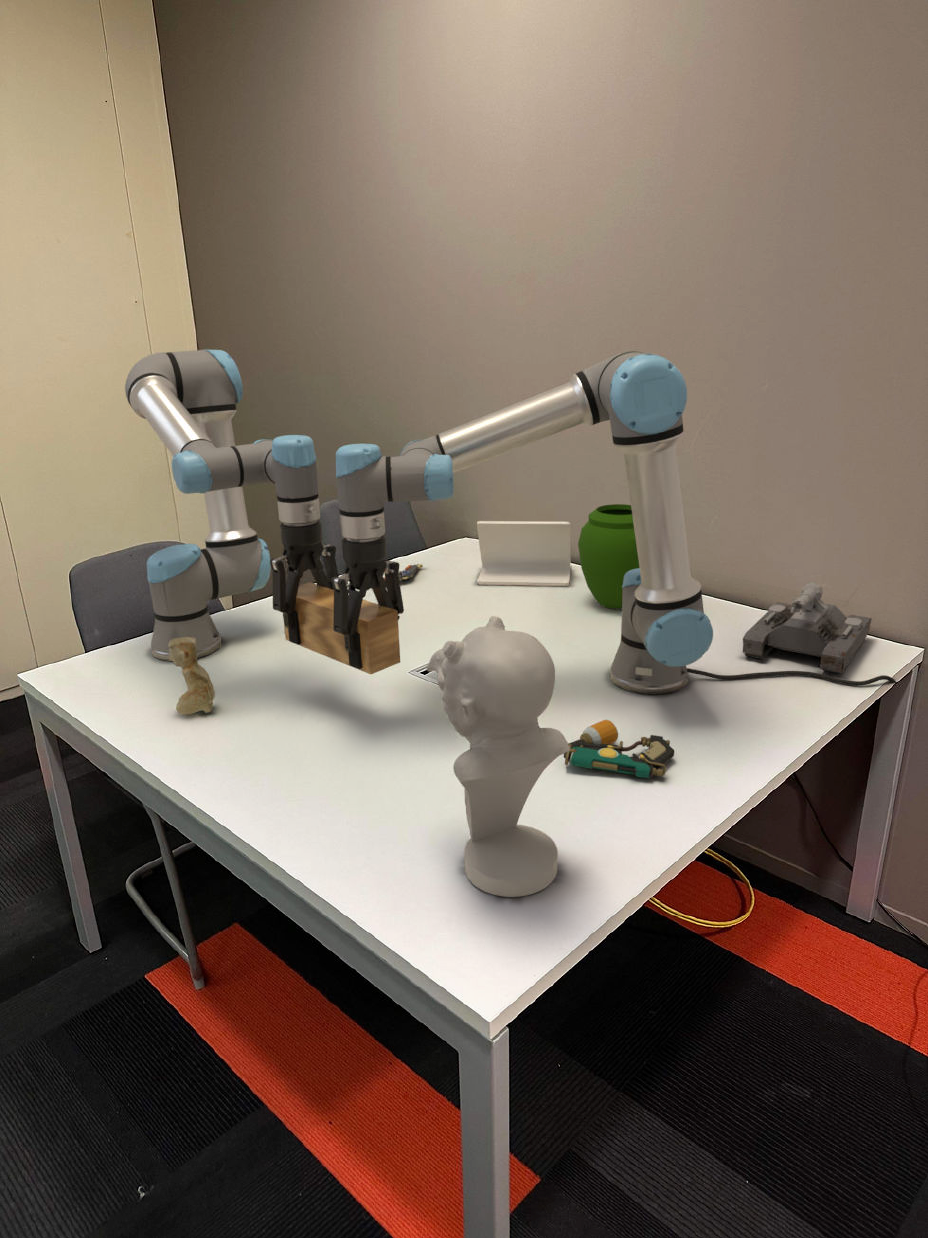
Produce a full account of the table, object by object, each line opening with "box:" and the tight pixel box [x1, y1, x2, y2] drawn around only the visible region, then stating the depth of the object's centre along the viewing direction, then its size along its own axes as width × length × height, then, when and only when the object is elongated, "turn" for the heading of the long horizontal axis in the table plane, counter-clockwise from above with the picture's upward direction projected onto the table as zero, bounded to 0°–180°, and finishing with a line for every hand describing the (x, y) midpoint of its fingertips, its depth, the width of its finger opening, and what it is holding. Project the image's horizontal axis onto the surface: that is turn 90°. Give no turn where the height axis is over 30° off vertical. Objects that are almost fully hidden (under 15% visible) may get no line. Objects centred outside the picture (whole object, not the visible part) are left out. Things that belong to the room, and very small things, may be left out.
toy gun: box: [383, 563, 424, 583], centre depth 239 cm, size 3×19×10 cm
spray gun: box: [563, 719, 675, 779], centre depth 142 cm, size 4×17×15 cm
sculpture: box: [168, 637, 216, 716], centre depth 162 cm, size 6×7×15 cm
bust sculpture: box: [426, 615, 570, 898], centre depth 115 cm, size 16×24×35 cm, turn 28°
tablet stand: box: [476, 520, 572, 587], centre depth 236 cm, size 18×25×17 cm
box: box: [282, 581, 401, 675], centre depth 158 cm, size 25×7×10 cm, turn 47°
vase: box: [577, 503, 640, 610], centre depth 210 cm, size 20×20×24 cm
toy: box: [742, 582, 872, 675], centre depth 182 cm, size 25×20×15 cm
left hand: (311, 636), depth 166 cm, fingers closed on box, 7 cm apart
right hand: (372, 659), depth 154 cm, fingers closed on box, 7 cm apart
